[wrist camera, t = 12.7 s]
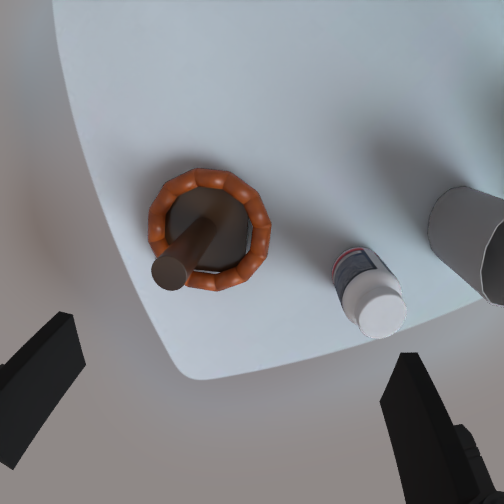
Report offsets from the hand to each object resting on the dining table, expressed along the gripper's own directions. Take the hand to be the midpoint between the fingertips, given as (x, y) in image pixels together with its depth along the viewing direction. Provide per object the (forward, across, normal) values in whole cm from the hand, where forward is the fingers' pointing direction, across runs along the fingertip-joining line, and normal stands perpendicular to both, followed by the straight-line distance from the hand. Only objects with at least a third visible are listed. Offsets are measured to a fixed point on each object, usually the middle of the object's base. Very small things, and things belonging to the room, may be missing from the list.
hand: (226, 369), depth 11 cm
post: (+19, -5, 0) cm, 20 cm away
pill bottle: (+19, +10, -3) cm, 22 cm away
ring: (+17, -4, 0) cm, 18 cm away
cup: (+20, +21, +3) cm, 29 cm away
